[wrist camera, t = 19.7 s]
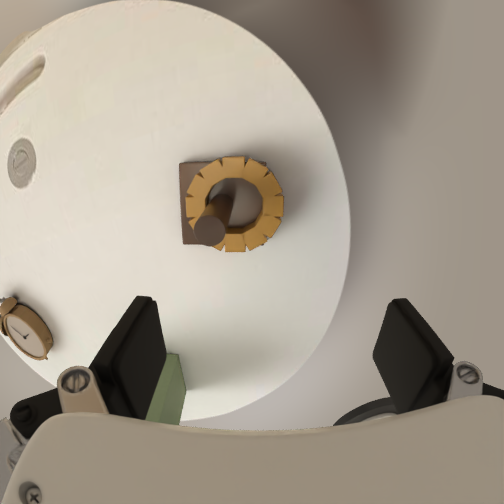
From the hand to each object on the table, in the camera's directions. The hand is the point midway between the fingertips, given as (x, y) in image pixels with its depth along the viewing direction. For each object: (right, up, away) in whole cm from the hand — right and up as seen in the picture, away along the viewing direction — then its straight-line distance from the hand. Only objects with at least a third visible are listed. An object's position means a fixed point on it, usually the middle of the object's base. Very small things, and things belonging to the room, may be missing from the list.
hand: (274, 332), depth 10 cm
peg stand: (-4, +8, +19) cm, 21 cm away
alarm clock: (-44, -10, +27) cm, 53 cm away
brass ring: (-3, +8, +17) cm, 19 cm away
